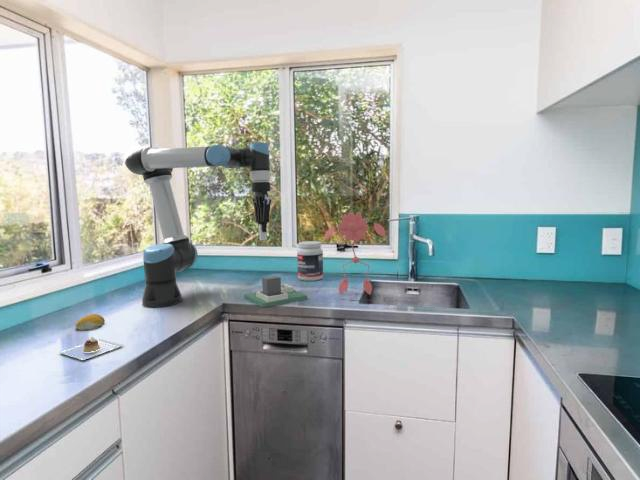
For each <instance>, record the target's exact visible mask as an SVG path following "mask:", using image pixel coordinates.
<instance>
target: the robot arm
mask: <svg viewBox="0 0 640 480" xmlns="http://www.w3.org/2000/svg"><path fill="white" fill-rule="evenodd" d="M123 160H124V164H125V166H126V169H128V170H129V172H131V173H133V174H135V175H138V176H139V175H140V176H142V177H143V178H142V179H143V182H144V183H145V184H147V185H148V186H149V189H150V193H151V194H150V195H151V198H152V200H153V205H154V208H155V212H156V215H157V220H158V223H159V227H160V228H159V229H160V231H161V235H162V237H163V239H162V242H161V243H158V244H153V245H149V246H147V247H145V249H144V250H143V255H142V256H143V257H142V260H143V269H144V280H145V287H144V291H143V294H142V295H143V296H142V297H141V298H142V299H141V301H142V303H141V305H142V306H143V307H146V308H162V307H168V306H174V305H176V304H177V305H178V304H179V303H181V302H182V301H183V300H182V299H183V298H182V293H181V290H180V287H179V286H178V283H177V275H176V273H178V272H179V273H180V272H182V271H185V270H186V271H187V269H190V268H192V267H193V266H194V265H195V264H196V262H197V260H198V249H197V248H196V246H195V245H194V244H193V243H191V242H190V239H189V236H187V235H185V233H184V231H183V226H182V221H181V218H180V214H179V212H178V207H177V204H176V200H175V195H174V192H173V188H172V185H171V180H172V178H173V174H172V172H174V171H173V169H178V168H179V169H180V168H182V169H184V168H206V167H215V168H216V167H224V168H225V169H237V168H250V181H252V183H251V192H253V193H254V192H255V196H254V198H253V199H252V204H253V208H254V210H253V211H254V215H255V216H254V217H255V221H256V223H257V224H258V233H259V234H258V236H259V239H258V240H259V241H267V240H268V231H267V230H268V228H267V224H269V223H270V213H271V203H272V199H271V198H269V195H268V192H270V191H271V190H272V189H271V182H270V181H271V172H270V171H271V168H270V165H271V164H270V149H269V144H268V143H267V142H262V141H255V142H251V143H249V147H248V148H234V147H229V146H224V145H222V144H221V145H220V144H213V145H210V146H193V147H192V146H191V147H173V148H172V147H171V148H170V147H168V148H158V147H152V146H143V145H142V146H141V145H136V146H135V145H134V146H132V147H130V148H129V149H128V150H127V151H126V152H125V153H124V158H123Z"/></svg>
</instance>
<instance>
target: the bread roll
mask: <svg viewBox="0 0 640 480" xmlns="http://www.w3.org/2000/svg"><path fill="white" fill-rule="evenodd" d="M104 323H105V318H104V317H103V316H102V315H101V314H97V313H91V314H87V315H85V316H83V317H81V318H79V320H77V322H76V323H75V328H76V329H77V331H78V330H79V331H86V330H85V329H90V330H94V329H93V328H95V329H97V327H98V328H100V327H101V326H102V325H103V324H104ZM99 326H100V327H99Z"/></svg>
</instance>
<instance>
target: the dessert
mask: <svg viewBox="0 0 640 480" xmlns="http://www.w3.org/2000/svg"><path fill="white" fill-rule="evenodd" d="M98 340H99V341H102V342H105V343H109V344H112V345H116V346H119V347H120V348H122V347H124V344H121V343H117V342H113V341H110V340H109V341H108V340H105V339H101V338H97V339H96V338H95V337H94V336H92V335H91V336H90V339H86V341H85V342H84V343H83V344H80V345H76V346H73V347H72V348H71V347H70V348H67V349H65V350H61V351H59V352H58V354H61V355H64V356H68V357H71V358H74V359H78V360H80V361H83V360H85V361H87V360H86V359H88V360H90V359H89V358H91V359H93V358H95V357H94V356H96V357H98V356H97V355H99V356H101V355H104V354H106V353H105V352H107V353H109V352H112V351H114V350H113V349H115V350H117V349H120V348H119V347H113V348H111V349H108V350H106V351H103V352H101V353H98V354H95V355H92V356H90V357H88V358H85V359H84V358H81V357H79V356H75V355H72V354H69V355H68V353H66V354H65V353H62V352H65V351H69V350H71V349H75V348H78V347H81V346H83V345H84V347H83V351H84V352H91V351H96V350H98V349H100V348H101V346H100V343H98ZM116 348H117V349H116ZM111 350H112V351H111ZM83 351H82V352H83ZM108 351H109V352H108ZM103 353H104V354H103ZM100 354H101V355H100ZM71 355H72V356H71ZM74 356H75V357H74ZM92 357H93V358H92Z"/></svg>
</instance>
